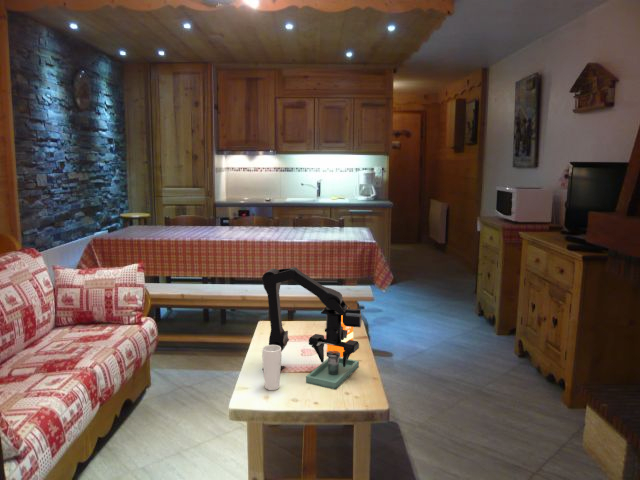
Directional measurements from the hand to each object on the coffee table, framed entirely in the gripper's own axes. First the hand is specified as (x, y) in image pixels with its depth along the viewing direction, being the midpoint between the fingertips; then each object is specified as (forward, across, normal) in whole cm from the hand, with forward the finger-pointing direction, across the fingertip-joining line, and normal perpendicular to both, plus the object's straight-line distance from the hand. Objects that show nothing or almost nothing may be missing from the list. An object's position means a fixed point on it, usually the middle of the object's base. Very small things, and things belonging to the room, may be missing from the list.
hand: (333, 364), depth 195 cm
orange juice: (+4, +7, -22) cm, 24 cm away
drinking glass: (+4, +15, +20) cm, 25 cm away
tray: (+4, 0, 0) cm, 4 cm away
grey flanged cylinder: (+4, 0, 0) cm, 4 cm away
